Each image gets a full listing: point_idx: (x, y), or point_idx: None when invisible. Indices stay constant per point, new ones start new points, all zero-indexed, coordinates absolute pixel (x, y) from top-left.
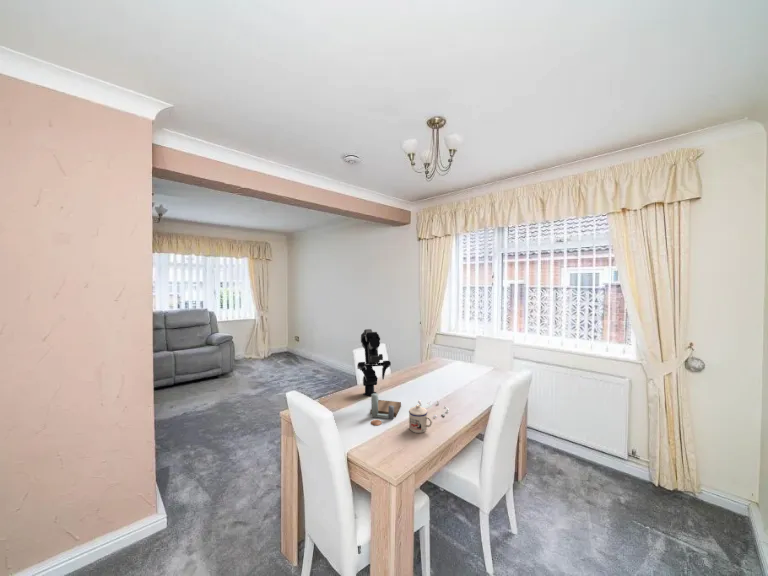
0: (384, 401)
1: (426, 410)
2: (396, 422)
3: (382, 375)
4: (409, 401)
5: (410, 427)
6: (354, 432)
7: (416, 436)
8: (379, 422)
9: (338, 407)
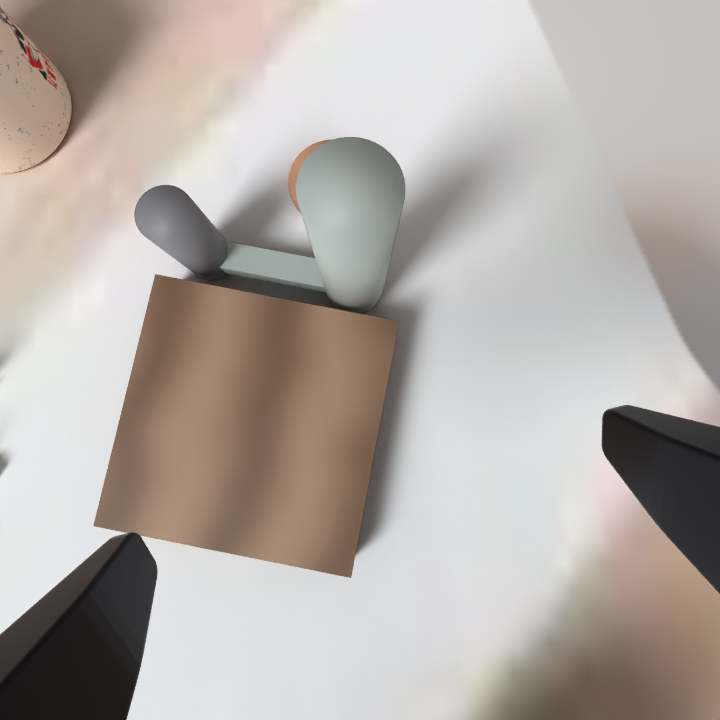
0: (273, 534)
1: None
2: None
3: (88, 710)
4: None
5: (50, 64)
6: (478, 42)
7: (34, 13)
8: None
9: None
